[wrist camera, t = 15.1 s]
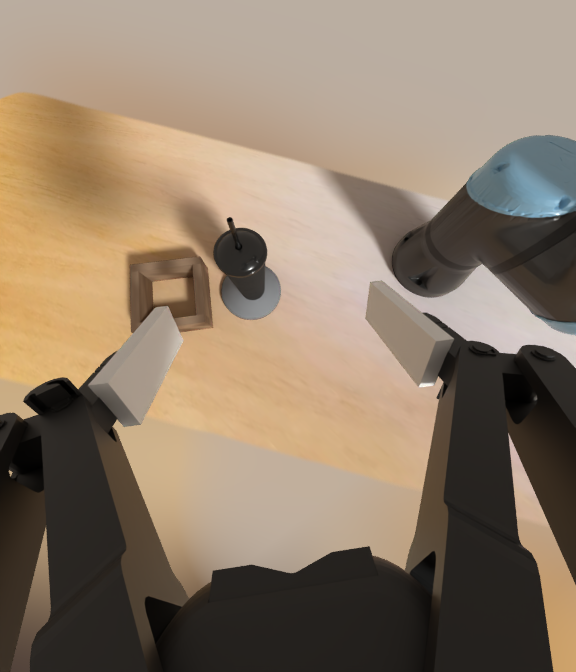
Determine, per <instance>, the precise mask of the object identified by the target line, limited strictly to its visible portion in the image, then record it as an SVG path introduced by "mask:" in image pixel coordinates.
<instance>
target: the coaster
mask: <svg viewBox="0 0 576 672" xmlns="http://www.w3.org/2000/svg"><path fill="white" fill-rule="evenodd" d="M221 292H222V299H223V302H224V304H225V305H226V307H227V308H228V309H229V311H230V312H231V313H233V314H234V315H236V316H237V317H239V318H242V319H247V320H255V319H260V318H263V317H265V316H267V315H268V314H270V313H271V312H272V311H273V310H274V309H275V308H276V306H277V304H278V302H279V300H280V295H281V287H280V283H279V280H278V278H277V276H276V275H275V273H274V272H273V271H272V270H270V269H269V268H268V267H266V266H265V291H264V294H263V295H262V296H261V297H260V298H259V299H257V300H248V299H246V298H245V297H244V296H243V295H242V294H241V292H240V291H239V290H238V289H237V287H236V286H235V285H234V284H233V282H232V281H231V280H230V278H229V277H228V276H226V277H225V279H224V281H223V284H222V290H221Z"/></svg>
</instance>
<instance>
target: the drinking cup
mask: <svg viewBox="0 0 576 672" xmlns="http://www.w3.org/2000/svg"><path fill="white" fill-rule="evenodd" d="M227 223H228V225H229V228H230V230H229V231H227V232H225V233H224V234H222V235H221V236H220V237H219V238H218V240H217V241H216V243H215V246H214V251H213V255H214V260H215V262H216V264H217V266H218V267H219V269H220V270H221V271H223V272H224V273H225V274H226V275H227V276H228V277H229V278H230V280H231V281H232V282H233V284H234V285H235V286H236V287H237V289H238V290H239V291H240V292H241V294H242V295H243V296H244V297H245V298H246V299H248V300H257V299H259V298H260V297H261V296H262V295H263V294H264V291H265V261H266V258H267V247H266V244H265V241H264V240H263V238H262V237H261V236H260V235H259V234H258V233H256V232H255V231H253V230H250V229H247V228H235V225H234V222H233V219H232V218H231V217H229V218H227Z"/></svg>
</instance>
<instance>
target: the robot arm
mask: <svg viewBox="0 0 576 672" xmlns="http://www.w3.org/2000/svg"><path fill="white" fill-rule="evenodd" d="M481 264H483V265H484V266H485V267H486V268H488V269H489V270H490V271H491V272H492V273H493V274H494V275H495V276H496V277H497V278H498V279H499V280H500V281H501V282H502V283H503V284H504V285H505V286H506V287H507V288H508V289H509V290H510V291H511V292H512V293H513V294H514V295H515V296H516V297H517V298H518V299H519V300H520V301H521V302H522V303H523V304H525V305H526V306H527V307H528V308H529V310H530V311H531V313H532V314H534V315H535V316H536V317H538V318H539V319H542V320H543V321H544V322H545V323H546V324H548V325H549V326H550V327H551V328H553V329H555V330H557V331H559V332H562V333H566V334H571V335H576V141H574V140H571V139H568V138H564V137H560V136H553V135H545V136H530V137H525V138H521V139H518V140H516V141H514V142H511V143H510V144H508V145H506V146H504V147H503V148H502V149H500V150H499V151H498V152H497V153H495V154H494V155H493V156H492V158H490V159H489V160H488V161H487V162H486V163H485V164H484V165H483V166H482V167H481V168H479V169H478V170H476V171H475V172H474V173H473V174H472V175H471V177H470V178H469V180H468V181H467V183H466V184H465V185H464V186H463V187H462V188H461V189H460V190H459V191H458V193H457V194H456V195H455V196H454V197H453V198H452V199H451V200H450V201H449V202H448V203H447V204H446V205H445V206H444V207H443V208H442V209H441V210H440V211H439V212H438V213H437V214H436V216H435V217H434V218H433V219H432V220H431V221H429V222H427V223H425V224H423V225H421V226H420V227H418V228H416V229H414V230H412V231H411V232H409V233H408V234H407V235H405V236H404V237H403V239H402V240H401V241H400V242H399V243H398V244H397V246H396V247H395V249H394V252H393V256H392V266H393V270H394V273H395V275H396V277H397V279H398V280H399V282H400V283H401V284H402V285H403V286H404V287H405V288H406V289H408V290H409V291H411V292H412V293H414V294H417V295H419V296H423V297H439V296H443V295H445V294H447V293H449V292H451V291H453V290H455V289H456V288H458V287H459V286H460V285H461V284H462V283H463V282H464V281H465V280H466V279H467V278H468V276H469V275H470V274H471V273H472V272H473V271H474V270H475V268H476V267H478V266H479V265H481ZM365 319H366V320H367V321H368V322H369V324H370V325H371V326H372V328H373V329H374V330H375V331H376V333H377V334H378V335H379V337H380V338H381V339H382V341H383V342H384V343H385V344H386V346H387V347H388V348H389V350H390V351H391V352H392V354H393V355H394V356H395V357H396V359H397V360H398V361H399V363H400V364H401V365H402V366H403V368H404V369H405V370H406V372H407V373H408V374H409V376H410V377H411V378H412V379H413V381H414V382H415V383H416V385H417V386H418V387H425V386H433V385H435V382H436V380H437V378H438V376H439V377H440V378H441V379H442V381H443V382H444V383H443V385H442V387H441V389H440V391H439V394H438V396H437V399H439V403H438V409H437V414H436V420H435V426H434V431H433V437H432V443H431V448H430V454H429V459H428V465H427V471H426V476H425V482H424V487H423V493H422V499H421V504H420V510H419V516H418V521H417V527H416V532H415V536H414V539H413V542H412V545H411V548H410V551H409V554H408V559H407V563H406V568H405V571H404V570H403V569H402V568H400V567H399V566H397V565H395V564H393V563H391V562H389V561H387V560H385V559H382V558H379V557H376V556H372V553H371V550H370V547H362V548H356V549H349V550H343V551H337V552H332V553H330V554H328V555H326V556H324V557H323V558H321V559H319V560H317V561H315V562H314V563H312V564H310V565H308V566H307V567H305V568H303V569H301V570H300V571H298V572H296V573H286V572H282V571H277V570H273V569H268V568H264V567H259V566H255V565H247V566H241V567H235V568H228V569H222V570H215V571H213V574H212V581H211V582H210V583H208V584H207V585H205V586H204V587H203V588H201V589H200V590H199V591H197V592H196V593H195V594H194V595H193V596H192V597H191V598H190V599H189V598H188V596H187V594H186V592H185V590H184V588H183V586H182V585H181V583H180V582H179V581H178V579H177V578H176V577H175V575H174V573H173V572H172V570H171V567H170V565H169V562H168V560H167V557H166V555H165V552H164V550H163V547H162V545H161V542H160V539H159V537H158V534H157V532H156V529H155V527H154V525H153V522H152V519H151V517H150V514H149V512H148V509H147V507H146V504H145V502H144V499H143V497H142V494H141V492H140V489H139V486H138V484H137V482H136V479H135V476H134V474H133V471H132V469H131V466H130V464H129V461H128V459H127V456H126V454H125V451H124V449H123V446H122V444H121V441H120V439H119V436H118V434H117V431H116V430H115V429H114V428H113V427H112V426H113V425H114V423H115V422H116V420H117V419H118V421H119V422H120V423H121V424H122V425H123V426H124V427H126V426H134V425H141V423H142V421H143V419H144V417H145V415H146V413H147V411H148V409H149V408H150V406H151V404H152V402H153V400H154V398H155V396H156V394H157V392H158V390H159V388H160V386H161V384H162V382H163V380H164V378H165V376H166V374H167V372H168V370H169V368H170V366H171V364H172V362H173V360H174V358H175V356H176V354H177V352H178V350H179V348H180V346H181V344H182V342H183V339H182V337H181V334H180V332H179V330H178V327H177V325H176V323H175V321H174V318H173V316H172V314H171V312H170V309H169V307H168V306H162V307H155V309H154V310H153V311H152V312H151V313H150V314H149V316H148V317H147V318H146V319H145V320H144V321H143V322H142V324H141V325H140V326H139V327H138V328H137V329H136V331H135V332H134V333H133V334H132V335H131V336H130V337H129V339H128V340H127V341H126V342H125V343H124V344H123V345H122V347H121V348H120V349H119V350H118V351H116V352H114V353H113V354H112V355H110V356H109V357H107V358H106V359H105V360H104V361H103V363H102V364H101V365H100V367H98V368H97V369H96V370H95V373H93V374H92V375H91V376H90V377H89V378H88V379H87V380H86V382H85V383H84V384H83V385H82V386H81V387H80V388H79V389H77V388H76V387H75V386H74V385H73V384H72V383H71V381H70V380H69V379H68V378H57V379H53V380H50V381H48V382H45V383H43V384H41V385H40V386H38V387H36V388H35V389H33V390H32V391H31V392H30V393H29V394H28V395H27V396H26V397H25V398H24V401H23V402H24V403H26V404H27V405H28V406H29V407H31V409H33V410H34V411H35V412H36V413H38V414H39V415H36V416H33V417H30V418H27V419H24V420H23V419H22V418H20V417H19V416H18V415H17V414H15V413H6V414H3V415H0V672H10V669H11V665H12V661H13V657H14V653H15V649H16V645H17V641H18V637H19V633H20V628H21V625H22V621H23V617H24V613H25V609H26V604H27V600H28V596H29V592H30V588H31V584H32V580H33V576H34V571H35V568H36V564H37V560H38V555H39V551H40V548H41V543H42V539H43V535H44V531H45V527H46V529H47V546H48V562H49V563H48V564H49V582H50V598H51V614H50V618H49V620H48V622H47V623H46V624H45V625H44V626H43V627H42V628H41V629H40V630H39V631H38V632H37V634H36V636H35V639H34V641H33V644H32V648H31V657H30V672H553V666H552V659H551V651H550V645H549V637H548V630H547V624H546V617H545V609H544V602H543V595H542V588H541V581H540V575H539V571H538V567H537V563H536V561H535V559H534V557H533V555H532V553H530V552H529V551H528V550H527V549H525V548H524V547H523V546H522V545H521V543H520V540H519V536H518V529H517V517H516V507H515V497H514V487H513V477H512V467H511V457H510V447H509V437H508V433H509V435H510V437H511V439H512V442H513V444H514V446H515V448H516V451H517V453H518V455H519V457H520V460H521V462H522V464H523V466H524V469H525V471H526V473H527V476H528V478H529V480H530V482H531V485H532V487H533V489H534V491H535V494H536V496H537V498H538V500H539V503H540V505H541V507H542V509H543V512H544V514H545V516H546V519H547V521H548V523H549V525H550V528H551V530H552V532H553V534H554V537H555V539H556V541H557V543H558V546H559V548H560V550H561V552H562V555H563V557H564V559H565V561H566V563H567V566H568V568H569V571H570V573H571V575H572V577H573V579H574V582H575V584H576V368H575V367H574V366H573V365H572V364H571V363H570V362H569V361H568V360H567V359H566V358H565V357H564V356H563V355H561V354H560V353H558V352H556V351H554V350H553V349H550V348H547V347H544V346H537V345H525V346H522V347H521V348H520V350H519V351H518V353H517V354H507V353H499V351H497V350H496V349H495V348H494V347H492V346H490V345H488V344H485V343H482V342H476V341H466V340H465V339H464V338H462V337H461V336H460V335H459V334H457V333H456V332H455V331H453V330H452V329H451V328H448V326H447V325H445V324H444V323H442V321H440V320H439V319H438V318H436V317H435V316H432V315H430V314H428V313H421V312H420V311H419V310H418V309H416V308H415V307H414V306H413V305H411V304H410V303H409V302H408V301H406V300H405V299H404V298H403V297H401V296H400V295H399V294H398V293H396V292H395V291H394V290H393V289H392V288H390V287H389V286H388V285H387V284H385V283H384V282H383V281H375V282H370V288H369V295H368V303H367V310H366V317H365ZM9 470H10V471H12V472H13V473H12V475H11V477H10V474H9Z"/></svg>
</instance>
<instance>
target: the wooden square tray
mask: <svg viewBox="0 0 576 672" xmlns="http://www.w3.org/2000/svg"><path fill="white" fill-rule="evenodd" d="M185 277H193V279H194V292H195V305H196V315H195V316H187V317H180V318H174V321H175V323H176V325H177V327H178V330H179V332H186V331H193V330H200V329H207V328H213V321H212V310H211V299H210V287H209V276H208V268H207V266H206V265H205V263H204V262H203V260H202V259H201V257H200V256H199V257H191V258H183V259H175V260H166V261H158V262H150V263H141V264H133V265H130V303H131V332H132V333H134V332H135V331H136V329H137V328H138V327H139V326H140V325H141V324H142V322H143V321H144V320H145V319H146V318H147V317H148V316H149V314H150V313H151V312H152V311H153V288H152V282H153V281H161V280H169V279H177V278H185Z"/></svg>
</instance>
